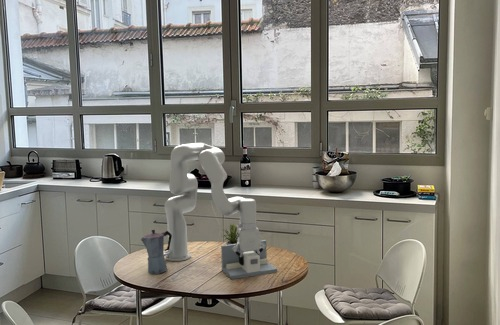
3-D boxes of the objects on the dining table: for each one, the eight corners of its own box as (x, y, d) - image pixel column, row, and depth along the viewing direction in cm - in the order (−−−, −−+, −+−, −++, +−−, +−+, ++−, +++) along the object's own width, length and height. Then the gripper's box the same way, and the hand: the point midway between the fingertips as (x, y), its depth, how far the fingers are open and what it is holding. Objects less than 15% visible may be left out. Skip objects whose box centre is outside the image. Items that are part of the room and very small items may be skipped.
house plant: (215, 251, 250) (214, 221, 248) (240, 248, 254) (239, 218, 252) (222, 259, 236) (221, 227, 235) (248, 255, 241) (247, 224, 239)
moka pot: (138, 272, 220) (136, 230, 218) (167, 264, 230) (165, 224, 228) (148, 277, 213) (145, 234, 211) (177, 269, 223) (175, 228, 220)
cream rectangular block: (248, 273, 210) (248, 258, 209) (238, 265, 222) (238, 250, 221) (261, 271, 212) (260, 256, 211) (250, 263, 224) (250, 248, 223)
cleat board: (231, 279, 208) (230, 253, 206) (222, 269, 221) (221, 245, 219) (277, 271, 215) (276, 247, 214) (265, 263, 228) (265, 239, 227)
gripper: (232, 229, 209) (234, 268, 210) (269, 225, 214) (270, 263, 216) (227, 226, 216) (228, 263, 217) (262, 222, 221) (263, 258, 223)
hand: (249, 263), depth 217 cm, fingers open, 7 cm apart
